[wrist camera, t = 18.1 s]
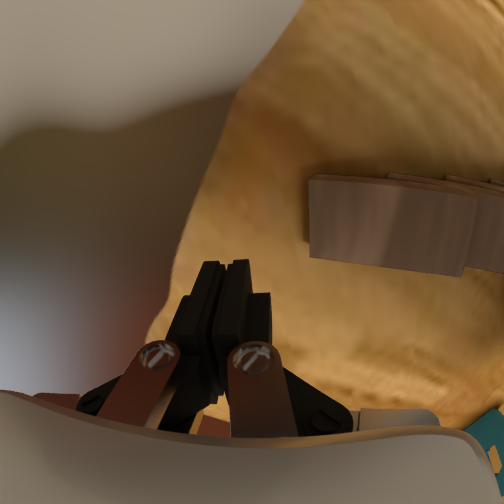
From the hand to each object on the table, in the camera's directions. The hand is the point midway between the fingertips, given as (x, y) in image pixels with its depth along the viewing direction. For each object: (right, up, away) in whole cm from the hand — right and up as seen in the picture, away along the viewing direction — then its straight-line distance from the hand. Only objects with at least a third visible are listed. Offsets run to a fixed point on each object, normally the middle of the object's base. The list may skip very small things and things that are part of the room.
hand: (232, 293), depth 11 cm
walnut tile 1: (+5, +4, +7) cm, 9 cm away
